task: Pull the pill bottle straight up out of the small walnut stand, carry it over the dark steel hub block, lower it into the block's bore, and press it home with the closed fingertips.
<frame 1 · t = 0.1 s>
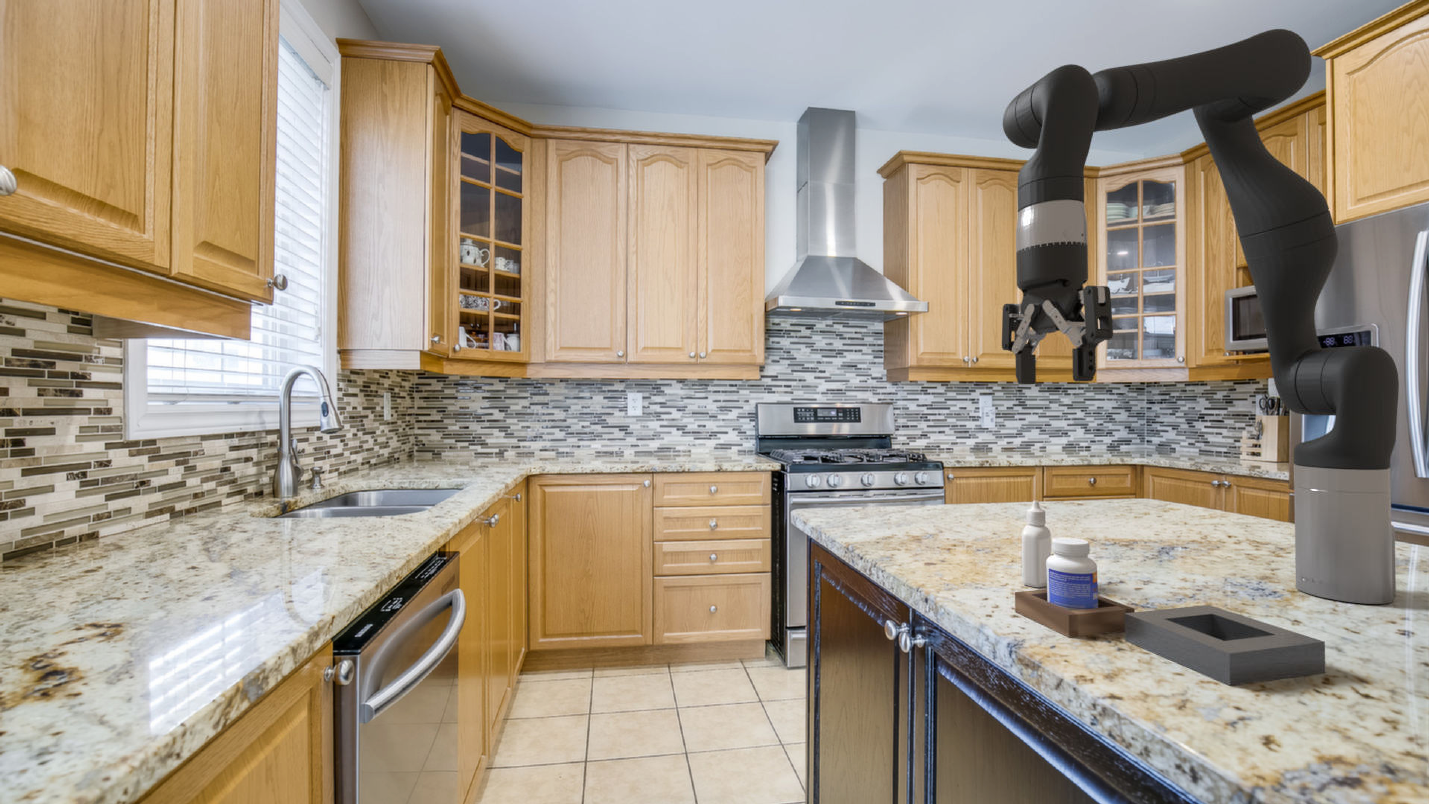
hand: (1053, 382, 75), 29 cm above the countertop, tool pointing down, fingers open, 8 cm apart
pill bottle: (1072, 622, 76), resting in walnut stand
steel hub block: (1218, 655, 65), on the countertop
walnut stand: (1072, 620, 76), on the countertop
eye dropper bottle: (1037, 584, 92), on the countertop
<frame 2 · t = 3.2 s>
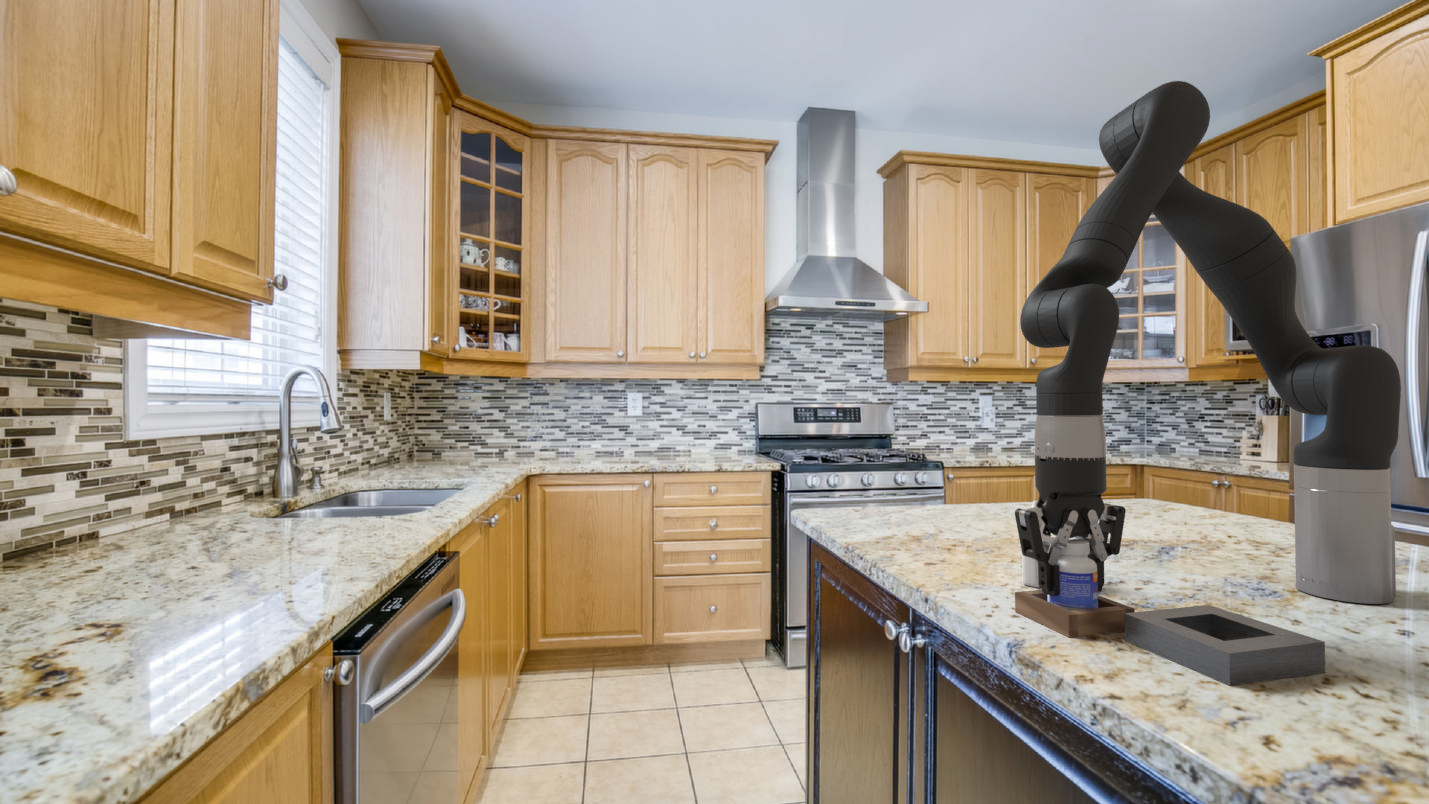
hand: (1071, 591, 76), 4 cm above the countertop, tool pointing down, fingers closed on pill bottle, 5 cm apart
pill bottle: (1072, 622, 76), resting in walnut stand, touching gripper
everything else where it was.
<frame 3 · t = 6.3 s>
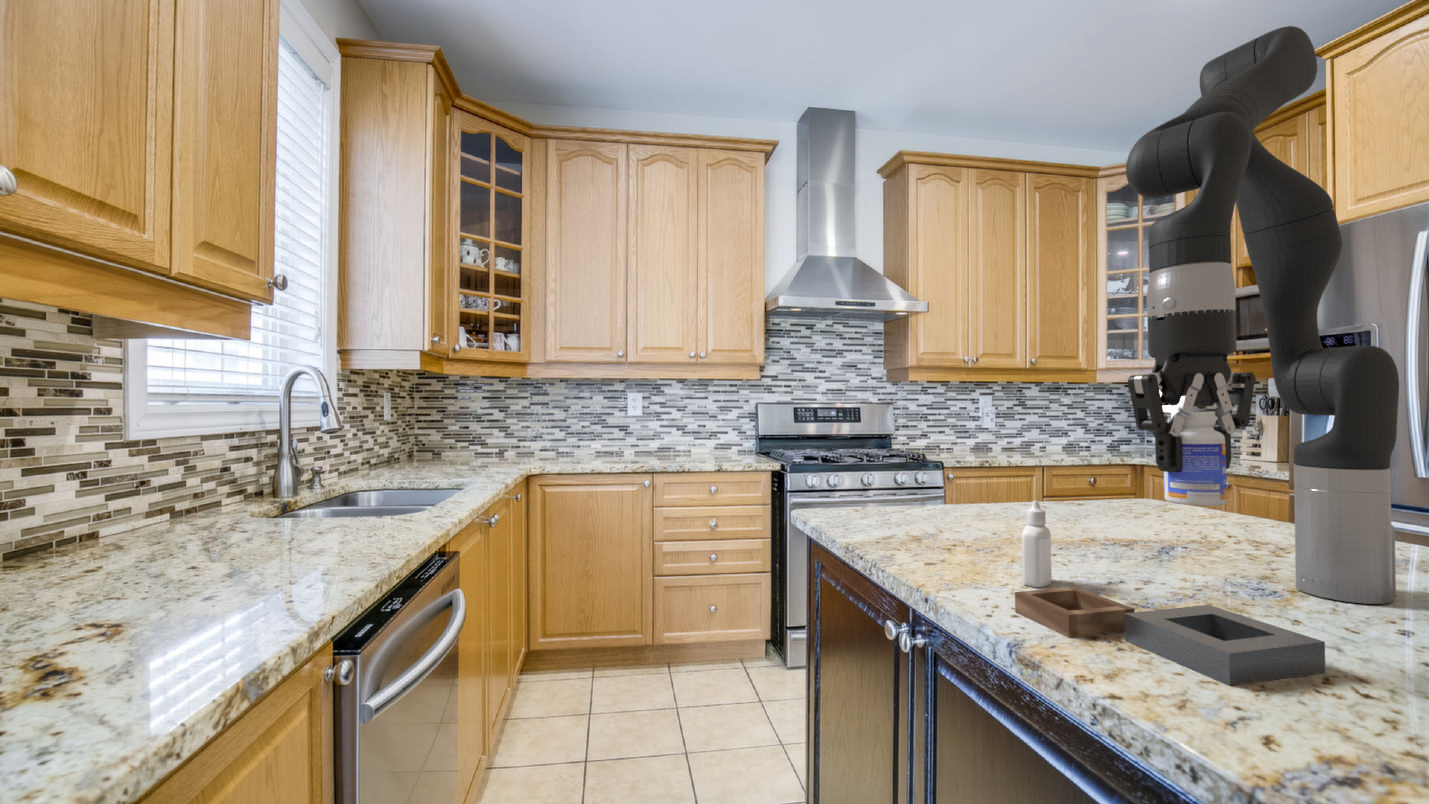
hand: (1193, 469, 67), 19 cm above the countertop, tool pointing down, fingers closed on pill bottle, 5 cm apart
pill bottle: (1194, 504, 67), point 15 cm above the countertop, touching gripper
everything else where it was.
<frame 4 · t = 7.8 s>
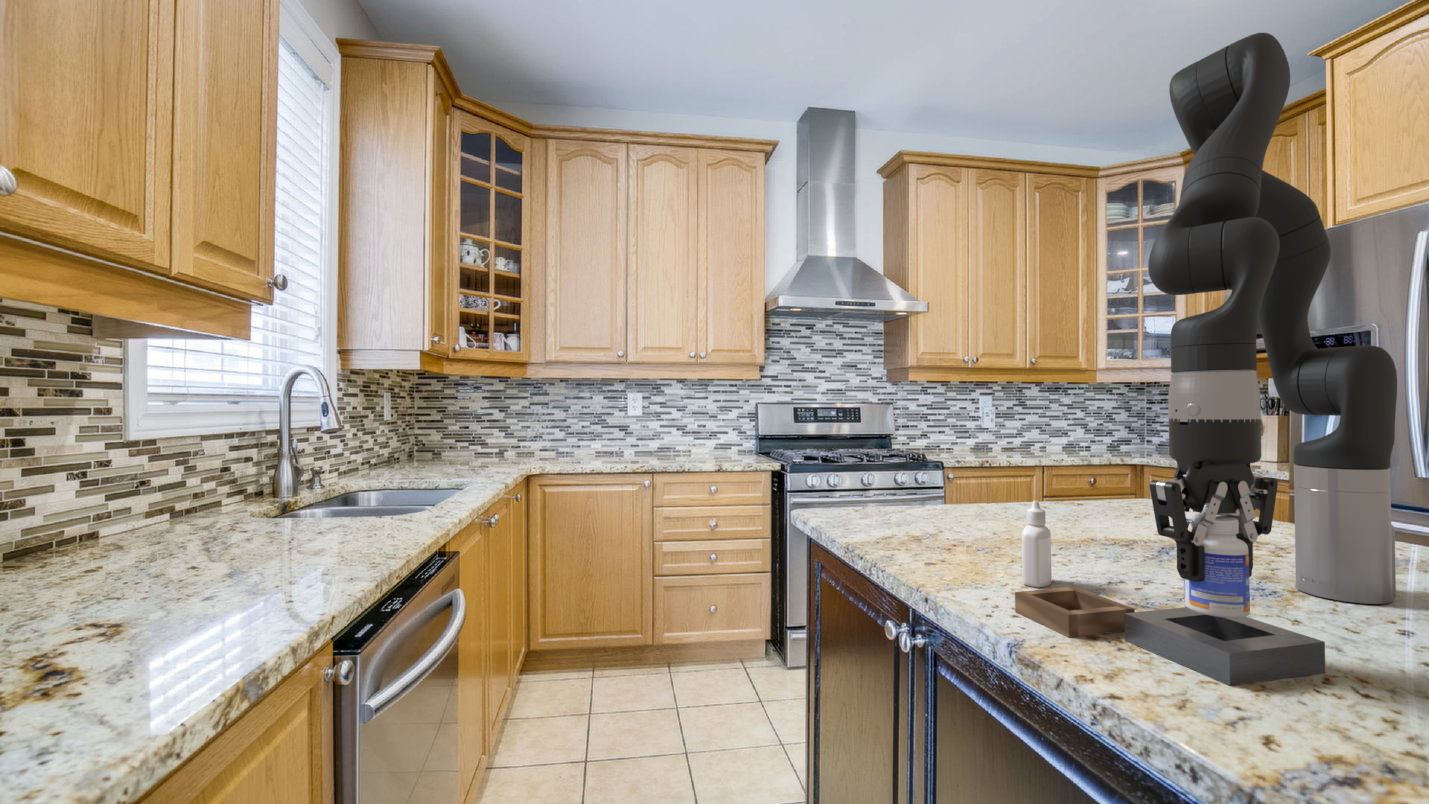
hand: (1214, 577, 65), 8 cm above the countertop, tool pointing down, fingers closed on pill bottle, 5 cm apart
pill bottle: (1215, 612, 65), point 4 cm above the countertop, touching gripper
everything else where it was.
when the fingers open (5 cm above the countertop, at t = 9.4 s): pill bottle drops 1 cm, resting in steel hub block.
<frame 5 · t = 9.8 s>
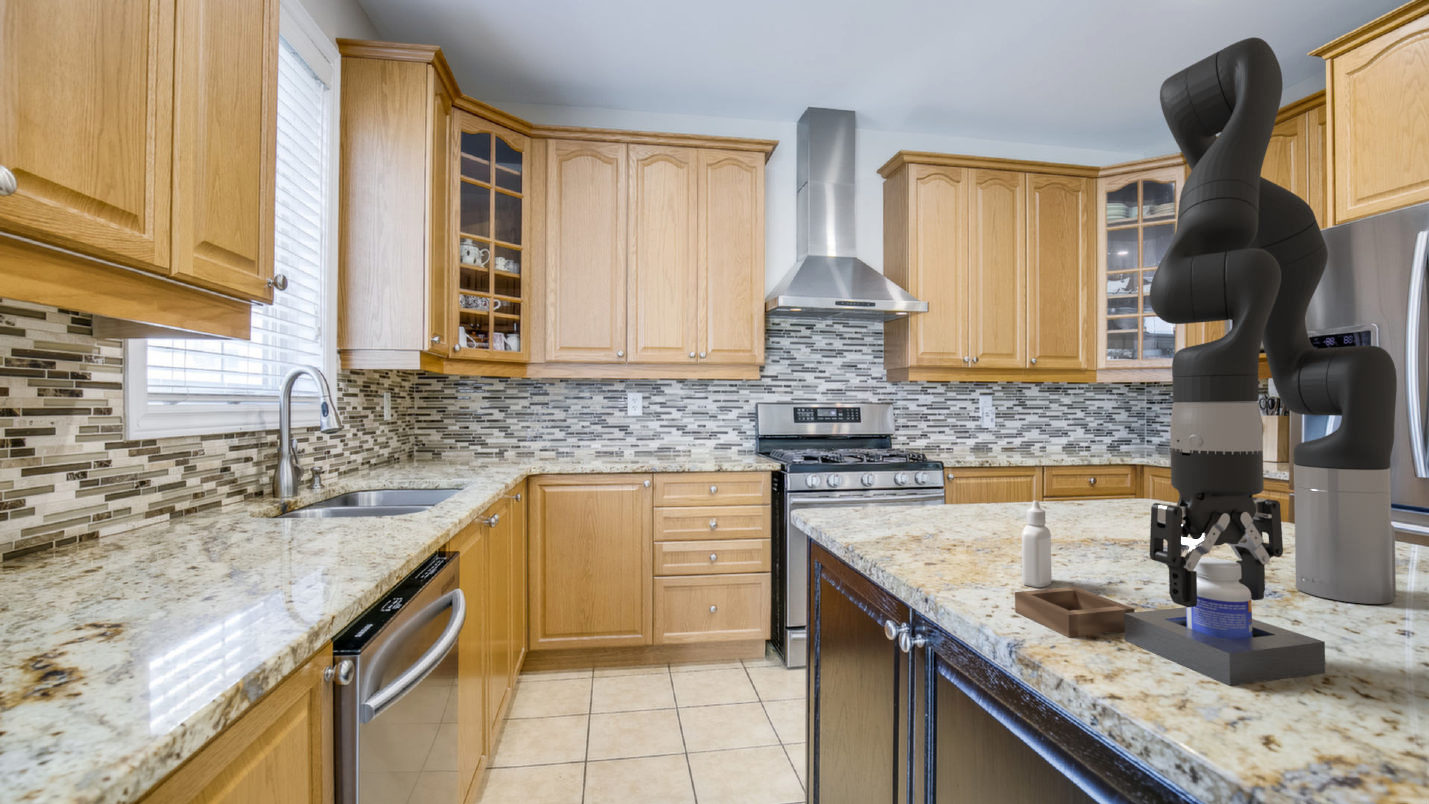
hand: (1217, 601, 65), 6 cm above the countertop, tool pointing down, fingers open, 8 cm apart
pill bottle: (1218, 657, 65), resting in steel hub block
everything else where it was.
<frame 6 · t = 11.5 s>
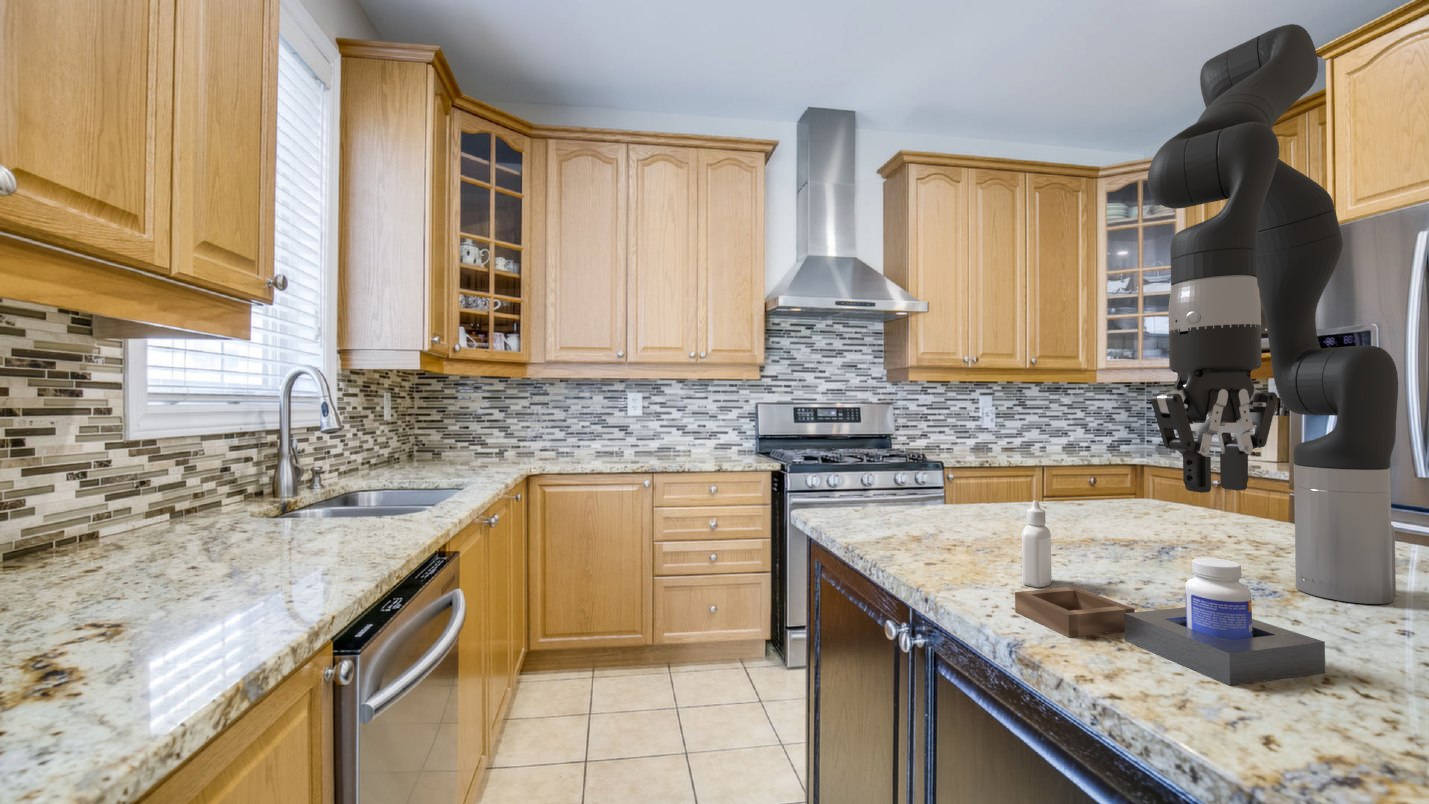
hand: (1215, 489, 65), 17 cm above the countertop, tool pointing down, fingers open, 4 cm apart
nothing on the countertop moved.
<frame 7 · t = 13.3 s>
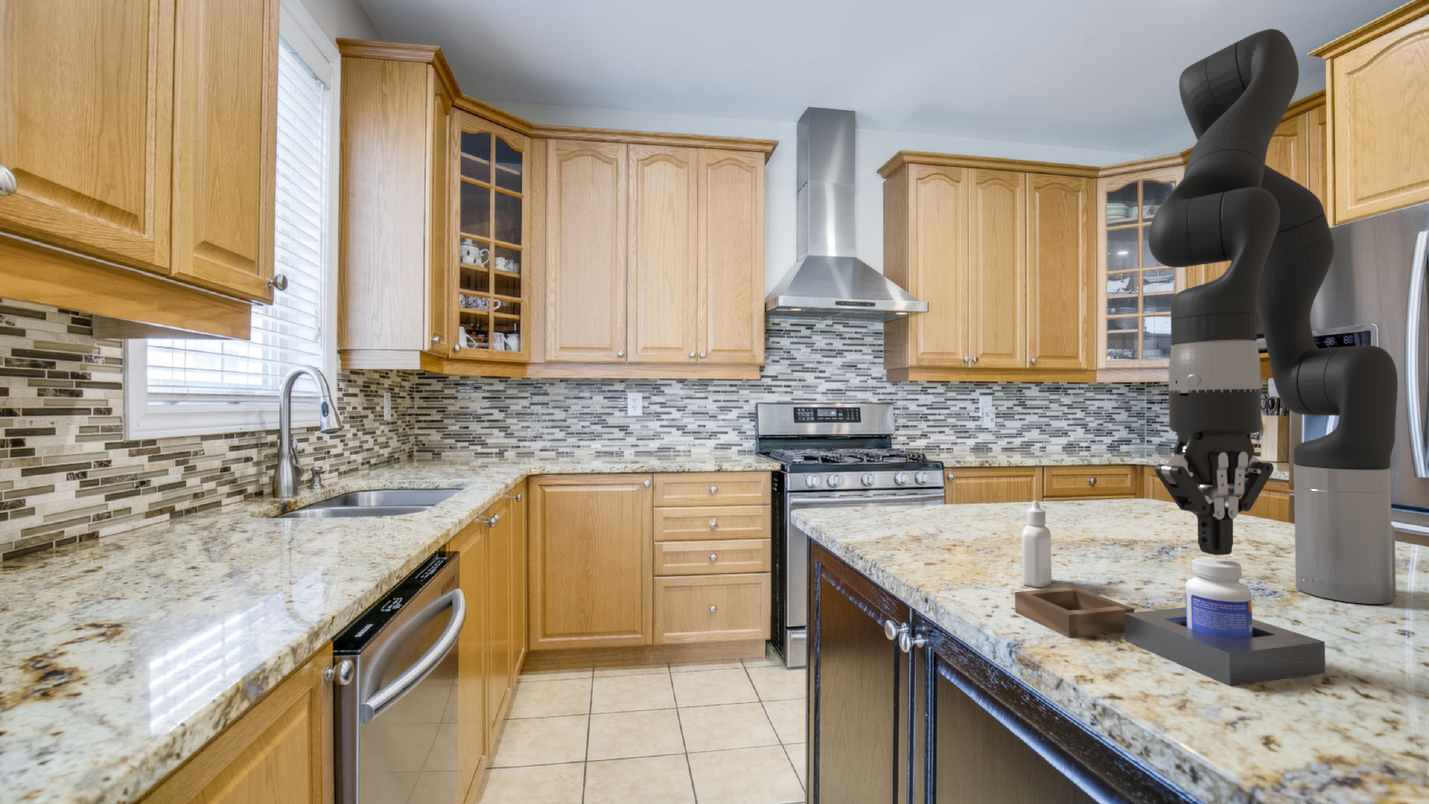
hand: (1215, 553, 65), 11 cm above the countertop, tool pointing down, fingers closed
nothing on the countertop moved.
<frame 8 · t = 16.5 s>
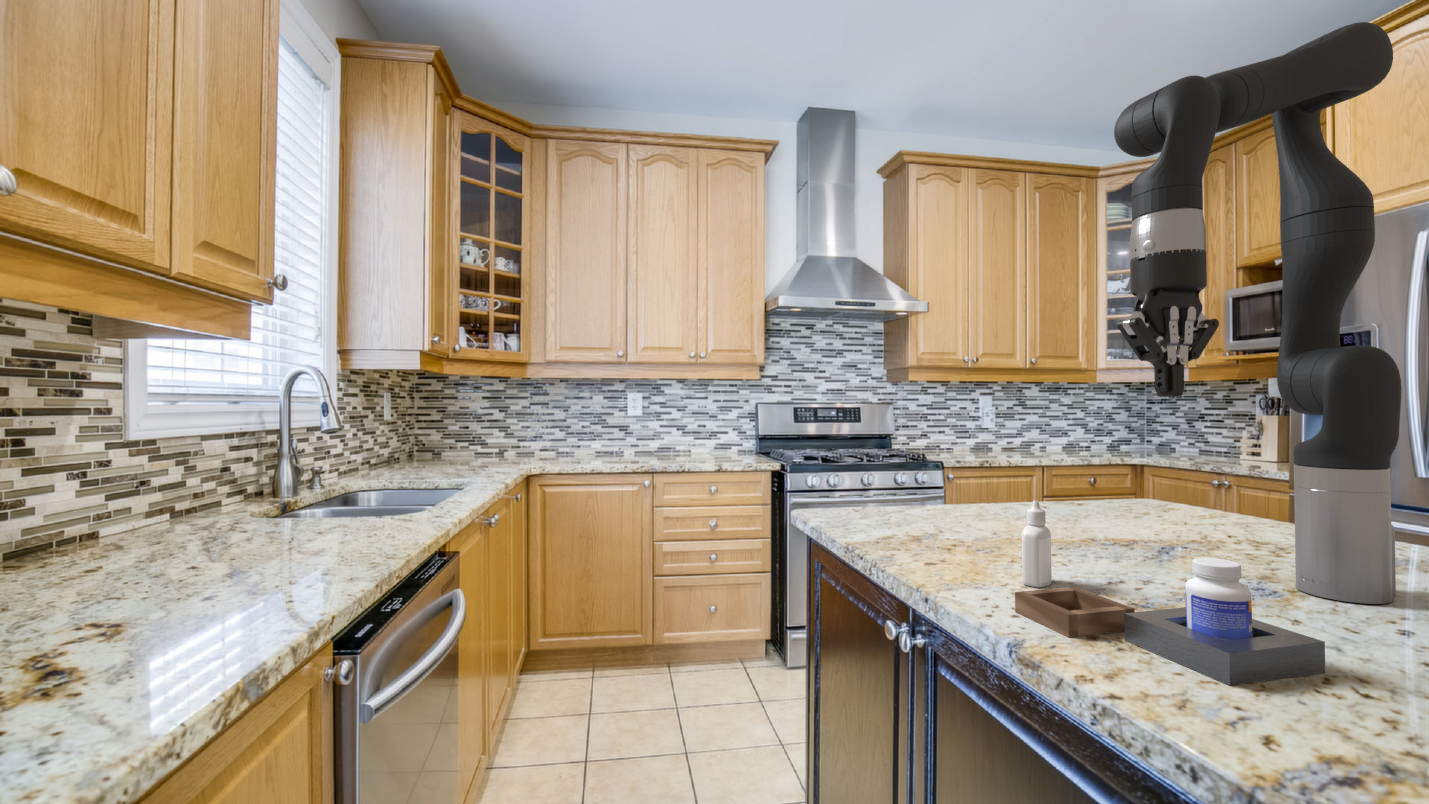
hand: (1169, 396, 76), 27 cm above the countertop, tool pointing down, fingers closed
nothing on the countertop moved.
at the end: pill bottle 0.1 cm off-centre on the steel hub block, point 0.0 cm above the steel hub block's base; pill bottle tilted 0°; the gripper is holding nothing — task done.
